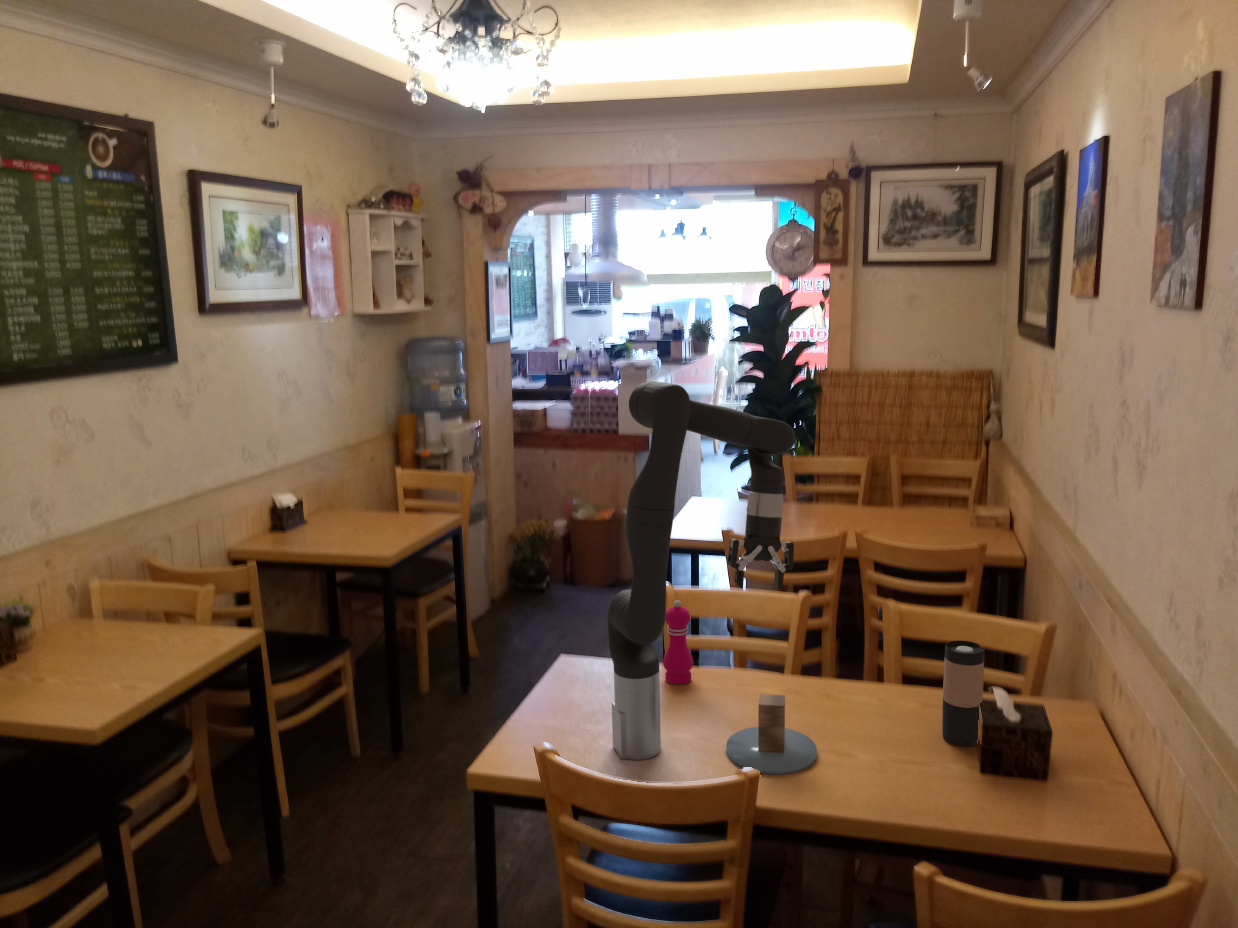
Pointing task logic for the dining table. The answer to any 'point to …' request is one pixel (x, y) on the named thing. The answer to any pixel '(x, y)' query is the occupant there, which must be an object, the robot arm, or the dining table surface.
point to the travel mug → (962, 692)
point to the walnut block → (771, 723)
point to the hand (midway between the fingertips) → (758, 588)
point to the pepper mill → (677, 646)
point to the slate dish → (794, 759)
